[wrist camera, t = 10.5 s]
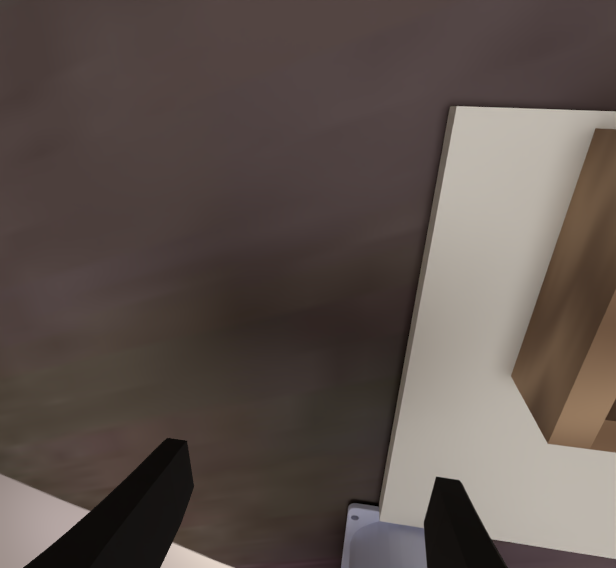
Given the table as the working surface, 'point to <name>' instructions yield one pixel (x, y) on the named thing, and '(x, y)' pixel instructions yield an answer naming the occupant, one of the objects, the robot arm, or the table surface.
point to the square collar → (577, 316)
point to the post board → (495, 338)
